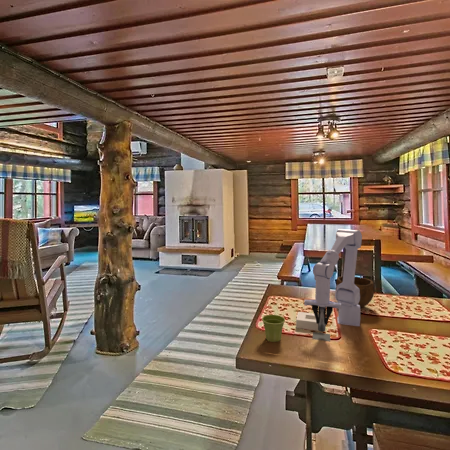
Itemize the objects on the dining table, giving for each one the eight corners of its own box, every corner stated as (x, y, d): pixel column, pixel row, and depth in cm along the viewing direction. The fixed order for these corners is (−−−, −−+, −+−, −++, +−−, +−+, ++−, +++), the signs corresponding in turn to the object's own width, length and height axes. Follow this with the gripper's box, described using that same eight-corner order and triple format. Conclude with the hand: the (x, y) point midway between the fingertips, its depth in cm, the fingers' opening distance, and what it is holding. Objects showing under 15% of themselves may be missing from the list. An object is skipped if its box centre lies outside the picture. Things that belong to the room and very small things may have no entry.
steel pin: (325, 328, 129) (326, 306, 128) (325, 332, 126) (326, 308, 125) (318, 328, 129) (318, 305, 129) (317, 331, 127) (318, 307, 126)
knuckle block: (324, 323, 142) (324, 314, 142) (324, 331, 133) (324, 323, 132) (297, 319, 146) (298, 311, 146) (296, 328, 136) (296, 319, 136)
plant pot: (279, 346, 120) (280, 325, 119) (258, 340, 125) (258, 320, 124) (288, 337, 128) (288, 317, 127) (267, 332, 133) (267, 313, 132)
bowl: (375, 304, 166) (376, 277, 165) (370, 315, 150) (371, 286, 149) (339, 298, 176) (340, 273, 175) (331, 308, 161) (332, 281, 159)
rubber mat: (330, 334, 130) (330, 334, 130) (330, 342, 123) (330, 341, 123) (313, 332, 132) (313, 331, 132) (312, 339, 126) (312, 338, 126)
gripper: (303, 293, 125) (303, 324, 126) (341, 296, 120) (340, 329, 121) (305, 288, 131) (304, 318, 133) (340, 291, 127) (340, 322, 128)
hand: (321, 323), depth 127 cm, fingers closed on steel pin, 3 cm apart
